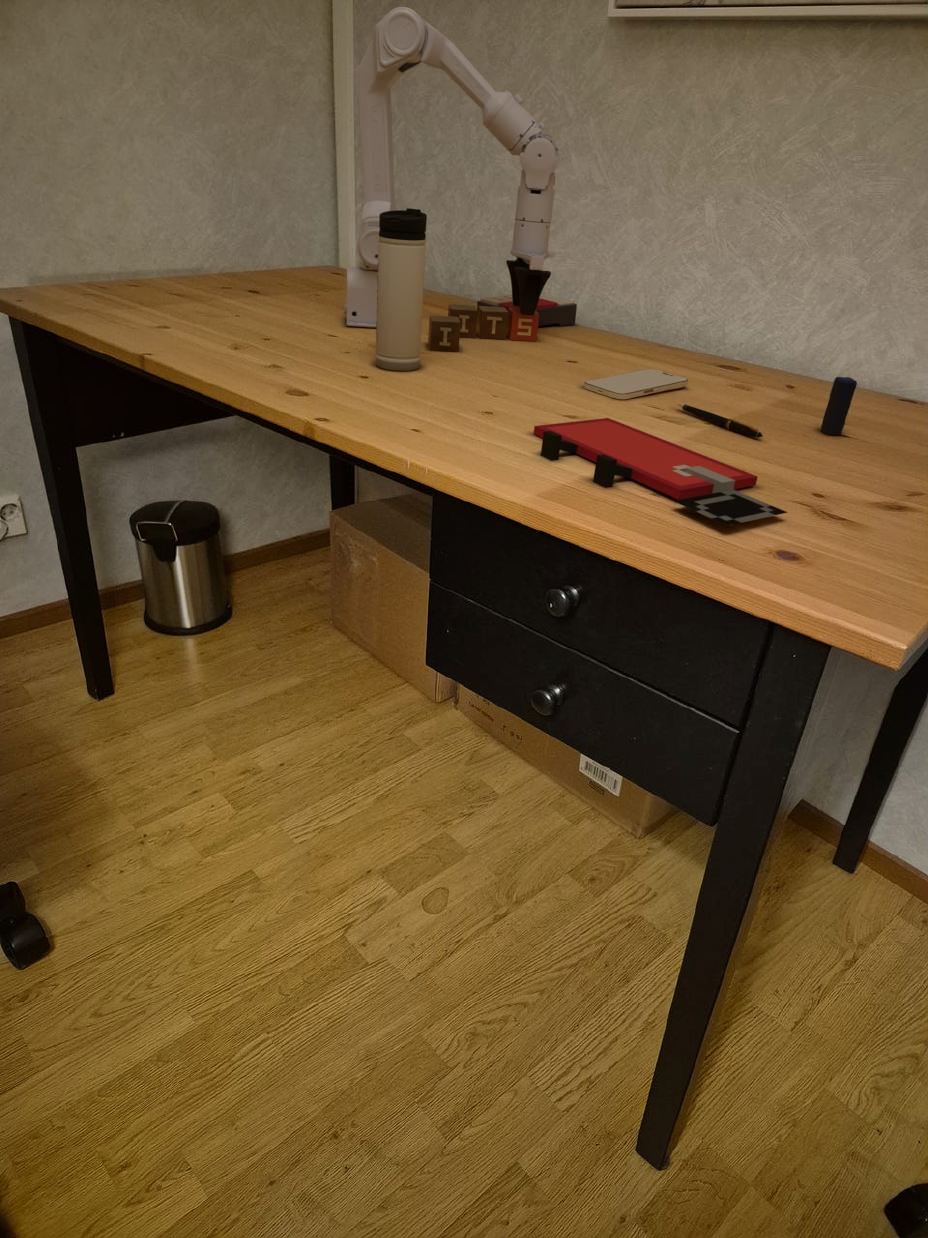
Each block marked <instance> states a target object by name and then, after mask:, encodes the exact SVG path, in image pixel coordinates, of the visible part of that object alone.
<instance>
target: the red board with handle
mask: <svg viewBox="0 0 928 1238" xmlns="http://www.w3.org/2000/svg"><path fill="white" fill-rule="evenodd" d="M533 435H535V436H536V437H539V438H541V439H542V441H541V449H540V456H541V457H543V458H545V459H546V460H549V461H551V462H555V461H559V459H560V451H563V452H567V453H572V454H576V455H579V456H581V457H583V458H585V459H588V460H590V461H592V462H594V463H595V466H594V473H593V479H592V482H593V483H594V484H596V485H598V486H601V487H602V488H604V489H608V488H613V487H614V481H615V476H618V477H623V478H627V479H632V480H634V481H636V482H639V483H641V484H643V485H645V486H647V487H650V488H651V489H654V490H656V491H659V492H661V493H662V494H665V495H668V496H669V497H672V498H674V499H676V500H673V502H675V503H677V504H678V505H681V506H683V507H685V508H688V509H689V510H692V511H694V512H696V513H699V514H701V515H703V516H705V517H707V518H710V519H712V520H713V521H716V522H718V523H721V524H722V525H724V526H727V527H728V526H732V525H733V526H734V525H739V524H743V523H746V522H752V521H756V520H760V519H765V518H770V517H775V516H778V515H784V514H788V513H789V512H788V511H786V510H783V509H781V508H779V507H777V506H774V505H771V504H769V503H767V502H764V501H762V500H759V499H757V498H755V497H752V496H750V495H748V494H745V493H743V492H740V491H738V490H739V489H743V488H748V487H753V486H756V485H757V481H758V477H759V476H757V475H755V474H752V473H750V472H747V471H745V470H743V469H740V468H737V467H735V466H732V465H729V464H727V463H724V462H722V461H719V460H717V459H714V458H712V457H709V456H706V455H705V454H701V453H699V452H696V451H694V450H691V449H689V448H686V447H684V446H682V445H679V444H676V443H673V442H671V441H668V440H665V439H664V438H660V437H659V436H657V435H656V436H655V435H653V434H650V433H648V432H646V431H643V430H640V429H637V428H635V427H633V426H630V425H627V424H625V423H622V422H619V421H617V420H615V419H613V418H609V417H604V418H594V419H585V420H577V421H567V422H559V423H550V424H549V423H548V424H540V425H534V426H533ZM737 489H738V490H737Z"/></svg>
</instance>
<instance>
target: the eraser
mask: <svg viewBox="0 0 928 1238" xmlns="http://www.w3.org/2000/svg"><path fill="white" fill-rule="evenodd" d="M857 385H858V381H857V380H855V379H854V378H852V377H849V376H835V378H834V381H833V384H832V387H831V390H830V393H829V398H828V402H827V405H826V408H825V410H824V414H823V417H822V421H821V427H820V431H821V433H823V434H825V435H827V436H835V437H839V436H841V434H842V432H843V430H844V427H845V423H846V420H847V416H848V414H849V410H850V407H851V405H852V400H853V397H854V394H855V391H856V388H857Z"/></svg>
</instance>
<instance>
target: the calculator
mask: <svg viewBox="0 0 928 1238" xmlns="http://www.w3.org/2000/svg"><path fill="white" fill-rule="evenodd" d="M476 303H477V304H476V308H477V310H478V307H479V306H490V307H504V308H505V309H506V310H507V311H508V312H509V308H520V307H519V306H513V300H512V294H505V295H496V296H487V297H486V296H485V297H481V298H480V300H478V301H476ZM577 309H578V304H577V303H575V301H572V300H568V299H564V298H561V297H557V296H554V295H549V294H545V293H542V292H541V295H540V298H539V301H538V305H537V308H536V311H537V312H538V313H539V321H538V327H541V326H548V325H549V326H550V325H556V326H559V327H565V326H573V325H575V324H576V317H577ZM507 323H508V321H507Z"/></svg>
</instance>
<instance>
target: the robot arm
mask: <svg viewBox="0 0 928 1238" xmlns="http://www.w3.org/2000/svg"><path fill="white" fill-rule="evenodd" d="M421 63H423V64H424V65H427V66H429V67H431V68H435V69H439V70H442V71H443V72H444V73H445V74H446V75H447V76H448V77H449V78H450V79H451V80H452V81H453V82H454V83H455V84H456V85H457V86H458V87H459V88H460V89H461V90H462V91H463V92H464V93H465V94H466V95H467V96H468V97H469V98H470V99H471V100H472V101H473V102H474V103H475V104H476V105H477V106H479V108H480V109H481V111H482V125H483V126H484V127H485V128H486V129H487V130H488V132H490V134H492V136H493V137H494V138H495V139H496V140H497V141H498V142H499V143H500V144H501V145H502V146H503V147H504V148H505V149H506V150H507V152H508V153H510V155H511V156H518V157H519V163H520V166H521V168H522V169H521V175H520V182H519V186H518V187H517V194H516V195H517V196H516V206H515V215H514V216H515V217H514V225H513V234H512V235H513V236H512V245H511V249H510V253H509V255H511V256H512V257H515V260H513V259H512V260H511V259H507V260H506V261H505V263H506V266H507V269H508V273H509V277H510V284H511V295H512V300H513V306H519V307H520V312H521V315H531V316H534V313H535V311H536V308H537V305H538V301H539V298H540V295H541V293H542V292H543V290H544V287H545V285H546V284H547V282H548V280H549V279H550V278H551V275H552V272H551V271H550V270H544V261H545V260H548V259H549V258H555V255H556V253H555V252H554V251H548V250H549V242H550V234H551V225H552V217H553V209H554V201H555V191H556V190H555V189H554V186H555V184H556V173H555V170H556V169H557V167H558V166H559V163H560V151H559V147H558V143H556V141H555V140H554V138H553V136H552V135H550V134H548V133H545V132H543V130H544V129H545V128H546V125H545V123H543V122H542V121H540V122H537V120H536V119H535V118H534V117H533V116H532V115H531V114H530V113H529V111H528V110H527V109H526V108H525V107H524V105H522V103H523V102H524V100H523V99H522V98H521V97H520V95H519V94H515V96H513V94H512V93H511V92H510V91H496V90H495V89H494V88H493V87H492V86H491V84H490V83H489V82H488V81H487V80H486V79H485V78H484V77H483V75H482V74H481V73H480V72H479V71H478V70H477V69H476V68H475V66H473V64H472V63H471V62H470V61H469V60H468V58H467V57H466V56H465V55H464V54H463V53H462V52H461V50H459V48H458V47H457V46H456V44H455V43H454V42H452V41H451V40H450V39H449V38H448V37H447V36H445V35H444V34H443V33H441V32H440V31H439V30H438V29H436V28H435V27H434V26H432V25H431V24H430V23H429V22H427V21H426V20H425V19H424V18H422V16H420V15H419V14H418V13H417V12H416V11H415V10H413V9H411V8H410V7H406V6H398V7H396V8H393V9H392V10H390V11H389V12H388V13H387V14H386V15H384V16H383V18H382V19H381V20H380V21H379V22H377V24H376V25H375V27H374V29H373V34H372V38H371V40H370V41H369V44H368V46H367V48H366V50H365V53H364V54H363V57H362V60H361V62H360V64H359V66H358V68H357V75H356V77H357V96H358V97H357V98H358V114H359V131H360V132H359V133H360V149H361V150H360V151H361V165H362V166H361V168H362V170H361V171H362V182H363V183H362V186H363V208H362V213H361V219H360V220H361V230H360V234H359V236H358V238H357V241H356V250H357V254H358V257H359V258H360V261H358V266H347V267H346V301H345V302H344V315H346V326H347V327H360V328H376V317H377V276H378V242H379V239H378V236H379V230H380V228H379V215H380V214H381V213H382V212H386V211H395V210H398V208H397V205H396V193H395V192H396V191H395V190H396V189H395V165H394V142H393V139H394V138H393V119H392V118H393V116H392V94H391V93H392V91H391V89H392V87H393V86H394V85H395V84H396V83H397V82H398V81H399V79H400V78H401V77H402V76H403V75H404V74H405V73H406V72H407V71H409V70H410V69H413V68H414V67H416V66H418V65H420V64H421Z"/></svg>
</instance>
